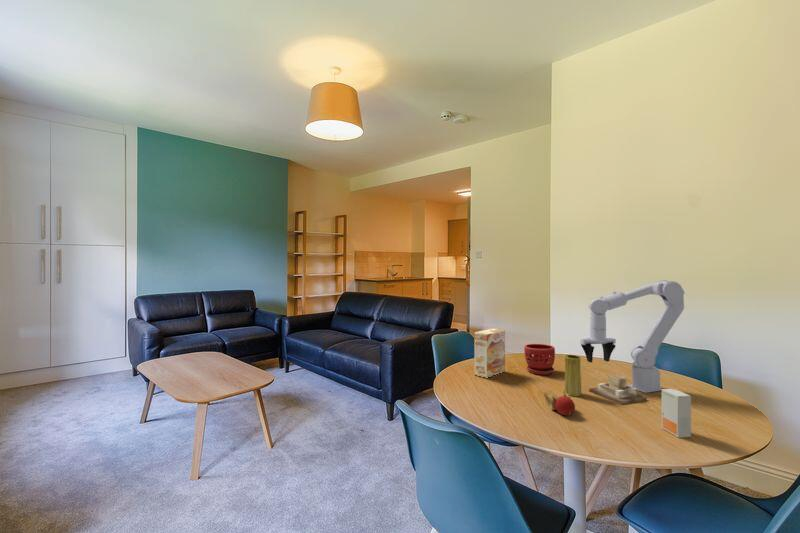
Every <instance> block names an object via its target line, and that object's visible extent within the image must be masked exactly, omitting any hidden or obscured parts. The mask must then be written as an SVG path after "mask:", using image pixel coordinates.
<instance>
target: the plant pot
mask: <svg viewBox="0 0 800 533" xmlns="http://www.w3.org/2000/svg"><path fill="white" fill-rule="evenodd" d="M523 347H524V358H525V361H526V364H527V366H526V369H527V371H529V372H530V373H531V374H536V375H551V374H552V373H553V372H554V371H555V368H554V367H553V365H554V363H555V359H556V348H555V346H553V345H550V344H545V343H544V344H543V343H529V344H525V345H524V346H523Z"/></svg>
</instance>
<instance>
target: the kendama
mask: <svg viewBox="0 0 800 533" xmlns="http://www.w3.org/2000/svg"><path fill="white" fill-rule="evenodd" d="M543 396H544V398H546V402H547V406H548V408H549V409H550V410H551V411H555V410H556V411H557V412H558V413H559V414H560V415H561V416H566V417H567V416H568V417H569V416H571V415H572V414H573V413H574V412H575V411H576V405H575V402H574V401H573V399H572V398H571V396H570V395H568V394H565V393H564V394H562V395H561V396H559V397H558V396H557V395H555V393H553V392H552V391H551V390H549V389H546V390H544V392H543Z"/></svg>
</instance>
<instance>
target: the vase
mask: <svg viewBox="0 0 800 533" xmlns="http://www.w3.org/2000/svg"><path fill="white" fill-rule="evenodd" d="M581 371H582V369H581V356H579V355H575V354H567V355H566V354H565V356H564V389H563V390H564V391H563V393H564V394H568V395H569V396H570V397H581V396H582V375H581V374H582V373H581Z"/></svg>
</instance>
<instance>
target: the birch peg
mask: <svg viewBox="0 0 800 533" xmlns="http://www.w3.org/2000/svg"><path fill="white" fill-rule="evenodd" d="M608 382H609V387H611V388H614V389H616V390H622V389H627V385H628V384H627V383H628V382H627V378H626V377H624V376H620V375H619V374H615V375H609V376H608Z"/></svg>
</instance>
